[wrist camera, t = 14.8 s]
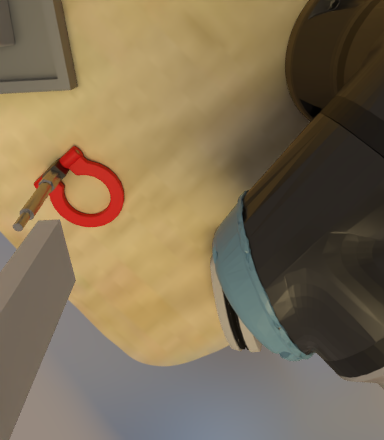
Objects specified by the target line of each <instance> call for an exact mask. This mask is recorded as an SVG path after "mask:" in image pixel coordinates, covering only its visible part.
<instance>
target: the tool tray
mask: <svg viewBox="0 0 384 440" xmlns="http://www.w3.org/2000/svg"><path fill="white" fill-rule="evenodd" d="M7 1H8V7H9V12H10V18H11V24H12V30H13V35H14V41H15V44H14V45H11V46H3V47H0V94H4V93H24V92H43V91H62V90H72V89H74V88H75V87H77V80H76V75H75V70H74V65H73V60H72V54H71V49H70V44H69V39H68V34H67V28H66V23H65V18H64V13H63V8H62V2H61V0H7Z"/></svg>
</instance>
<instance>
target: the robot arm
mask: <svg viewBox="0 0 384 440" xmlns="http://www.w3.org/2000/svg"><path fill="white" fill-rule="evenodd" d="M285 73H286V81H287V86H288V89H289V92H290V95H291V97H292V100H293V101H294V103H295V105H296V107H297V108H298V109H299V111H300V112H301V113H302V114H303V115H304V116H305V117H306V118H307V119H308V120H310V121H311V122H310V123H309V124H308V126H307V127H306V128H305V129H304V130H303V131H302V132H301V133H300V135H299V136H298V137H297V138H296V139H295V140H294V141H293V142H292V144H291V145H290V146H289V147H288V148H287V149H286V150H285V151H284V153H283V154H282V155H281V156H280V157H279V158H278V159H277V161H276V162H275V163H274V164H273V165H272V166H271V167H270V168H269V170H268V171H267V172H266V173H265V174H264V175H263V176H262V177H261V178H260V179H259V180H258V181H257V183H256V184H255V185H254V186H253V187H252V188H251V189H250V190H248V191H244V192H243V193H242V194H241V196H240V197H239V199H238V203H237V204H236V206H235V207H234V208H233V209H232V211H231V212H230V213H229V214H228V216H227V217H226V218H225V219H224V221H223V222H222V223H221V224H220V226H219V227H218V229H217V230H216V232H215V235H214V238H213V243H212V253H213V260H214V263H215V270H216V274H217V277H218V280H219V282H220V285H221V287H222V289H223V292H224V294H225V296H226V297H227V299H228V301H229V303H230V305H231V306H232V308H233V309H234V311H235V312H236V314H237V315H238V317H239V318H240V320H241V321H242V322H243V324H244V325H245V326H246V327H247V329H248V330H249V331H250V332H251V333H252V334H253V336H254V337H255V338H256V339H257V340H258V341H259V342H260V343H261V344H263V345H264V346H265V347H266V348H267V349H269V350H270V351H271V352H273V353H279V354H280V356H281V357H282V358H284V359H287V360H289V361H300V360H302V359H309V358H310V357H311V356H312V355H313V354H314V353H317V354H318V355H319V356H320V357H321V358H322V359H323V360H324V361H325V362H326V363H327V364H328V365H329V366H330V367H331V368H332V369H333V370H334V371H335V372H336V373H337V374H338V375H339V376H340V377H341V378H343V379H344V380H347V381H354V382H370V383H371V382H372V383H378V384H379V385H380V386H381V387H382V388H383V389H384V0H309V2H308V3H307V4H306V6H305V7H304V9H303V10H302V12H301V13H300V15H299V17H298V19H297V21H296V23H295V25H294V27H293V30H292V33H291V35H290V39H289V42H288V46H287V52H286V60H285ZM75 281H76V280H75V276H74V272H73V268H72V264H71V261H70V257H69V253H68V249H67V245H66V241H65V238H64V234H63V230H62V226H61V222H60V220H43V221H38V222H37V223H36V225H35V226H34V227H33V229H32V230H31V231H30V233H29V234H28V235H27V237H26V238H25V239H24V241H23V242H22V244H21V245H20V246H19V248H18V249H17V250H16V252H15V253H14V255H13V256H12V257H11V259H10V260H9V261H8V262H7V264H6V265H5V266H4V268H3V269H2V270H1V272H0V440H9V439H10V437H11V434H12V432H13V429H14V427H15V425H16V422H17V420H18V417H19V415H20V413H21V410H22V408H23V405H24V403H25V401H26V398H27V396H28V393H29V391H30V388H31V386H32V384H33V381H34V379H35V377H36V374H37V372H38V369H39V367H40V364H41V362H42V360H43V357H44V355H45V352H46V350H47V348H48V345H49V343H50V341H51V338H52V336H53V333H54V331H55V328H56V326H57V324H58V321H59V319H60V317H61V314H62V312H63V309H64V307H65V305H66V302H67V300H68V297H69V295H70V293H71V290H72V288H73V285H74V283H75Z"/></svg>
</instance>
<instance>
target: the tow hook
mask: <svg viewBox="0 0 384 440" xmlns="http://www.w3.org/2000/svg"><path fill="white" fill-rule="evenodd" d="M69 170H71V171H72V172H73V173H74V174H75V175H89V176H93V177H96V178H97V179H99V180H101V181H102V182H103V183H104V184H105V185H106V186H107V188H108V189H109V192H110V195H111V201H110V204H109V206H108V207H107V208H106V209H105V210H104V211H102V212H100V213H96V214H85V213H81V212H79V211H77V210H75V209H74V208H73V207H71V206H70V204H69V203H68V202H67V200H66V198H65V194H64V188H65V187H64V184H62V183H61V182H60V181H61V180H62V179H63V178H64V177H65V176H66V174H67V173H68V171H69ZM34 186H35V188H36V191H35V192H34V193H33V195H32V196H31V197H30V199H29V200H28V201H27V203H26V204H25V205H24V207H23V208H22V210H21V211H20V217H19V218H18V219H17V221H16V222H15V223H14V225H13V228H14V229H15V230H16V231H22V230H23V228H24V227H25V225H26V224H27V222H28V221H29V220H32V219H33V218H34V216H35V215H36V213H37V212H38V210H39V209H40V207H41V206H42V204H43V202H44V201H45V199H46V198H47V196H48V195H50V199H51V202H52V204H53V206H54V208H55V209H56V210H57V212H58V213H59V214H60V215H61V216H62V217H64V218H65V219H66V220H68V221H69V222H72V223H74V224H76V225H79V226H84V227H98V226H103V225H105V224H107V223H109V222H111V221H113V220H114V219H115V218H116V217H117V216H118V214H119V213H120V211H121V210H122V206H123V202H124V190H123V187H122V184H121V182H120V180H119V179H118V178H117V176H116V175H115V174H114V173H113V172H112V171H111V170H110V169H109V168H107V167H105V166H103V165H101V164H99V163H96V162H92V161H88V160H87V159H86V158H85V157H84V156H83V153H82V152H81V150H80V149H79V148H77V147H75V146H73V147H72V148H71V149H70V150H69V151H68V152H67V153H66V154H65V155H64V156H62V157H61V158H60V159H58V160H57V161H56V162H55V163H54V164H52V165H51V166H50V167H49V168H48V169H47V170H46V172H45V173H44V174H43V175H42V176H41V177H40V178H39V179H38V180H37V181H35V182H34Z"/></svg>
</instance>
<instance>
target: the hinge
mask: <svg viewBox="0 0 384 440" xmlns="http://www.w3.org/2000/svg"><path fill="white" fill-rule="evenodd" d="M210 268H211V278H212V285H213V292H214V298H215V303H216V308H217V312H218V316H219V320H220V324H221V327H222V330H223V332H224V335H225V337H226V340H227V342H228V343H229V345H230V346H231V348H232V349H235V350H238V351H242V349H245V347H246V348H247V350H250V352H259V351H261V347H262V344H261V343H260V342H259V341H258V340H257V339H256V338H255V337H254V336H253V334H252V333H251V332H250V331H249V330H248V329H247V327H246V326H245V325H244V324H243V322H242V321H241V320H240V318H239V317H238V315H237V314H236V312H235V311H234V309H233V308H232V306H231V305H230V303H229V301H228V299H227V297H226V296H225V294H224V292H223V289H222V287H221V285H220V282H219V280H218V277H217V274H216V270H215V263H214V260H213V254H212V258H211V262H210Z"/></svg>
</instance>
